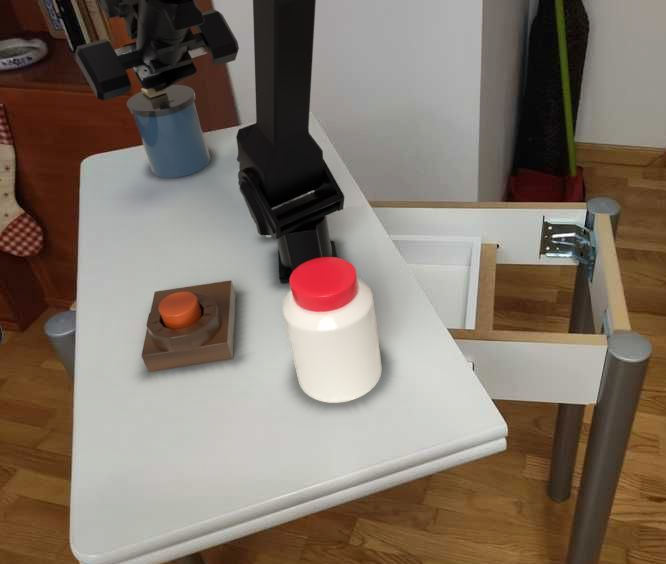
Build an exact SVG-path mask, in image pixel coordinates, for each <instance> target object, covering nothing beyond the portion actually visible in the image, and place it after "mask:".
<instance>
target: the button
mask: <svg viewBox="0 0 666 564" xmlns="http://www.w3.org/2000/svg"><path fill="white" fill-rule="evenodd" d="M158 309H159V312H160V315H161V317H162V320H163V322H164V325H165V326H166V327H167V328H170V329H181V328H186V327H188V326H190V325H192V324H194V323H196V322H197V321H198V320H199V319H200V318H201V316H202V311H201V308H200V305H199V302H198V300H197V297H196V296H195V295H194V294H192V293H189V292H178V293H174V294H171V295H169V296H167V297H166V298H164V299H163V300H162V301H161V303H160V304H159V308H158Z"/></svg>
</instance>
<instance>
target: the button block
mask: <svg viewBox="0 0 666 564" xmlns="http://www.w3.org/2000/svg"><path fill="white" fill-rule="evenodd" d="M178 292H189V293H192V294H194V295H195V296H196V297H197V300H198V302H199V305H200V308H201V311H202V316H201V318H200V319H199V320H198V321H197V322H196V323H194V324H192V325H190V326H188V327H186V328H181V329H170V328H167V327H166V326H165V325H164V322H163V320H162V317H161V315H160V312H159V309H158V308H159V304H160V303H161V301H162V300H163V299H164V298H166V297H167V296H169V295H171V294H174V293H178ZM236 303H237V296H236V291H235V289H234V285H233V281H232V280H223V281H217V282H210V283H204V284H197V285H189V286H184V287H177V288H176V287H175V288H169V289H163V290H156V291H154V294H153V298H152V303H151V308H150V311H149V313H148V316H147V321H146V331H145V337H144V342H143V347H142V351H141V358H142V361H143V364H144V365H145V367H146V369H147V372H148V373H154V372H161V371H166V370H173V369H179V368H186V367H193V366H199V365H204V364H205V365H206V364H212V363H218V362H223V361H224V362H225V361H231V360H233V359H234V343H235V342H234V341H235V339H234V338H235V321H236Z"/></svg>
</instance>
